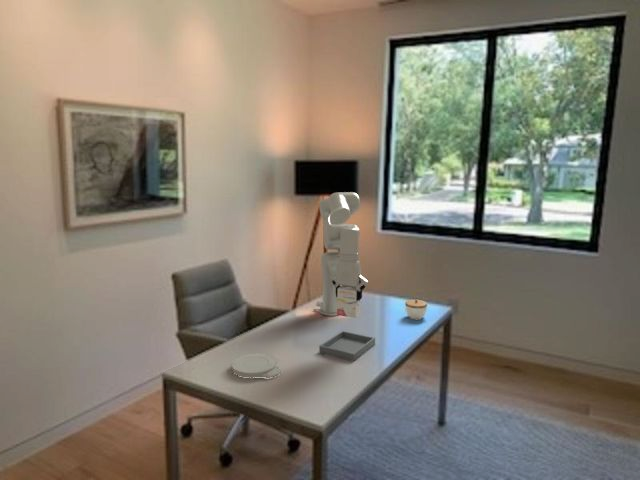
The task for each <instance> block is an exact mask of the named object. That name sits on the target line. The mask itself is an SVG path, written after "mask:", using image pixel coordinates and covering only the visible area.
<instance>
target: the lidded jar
mask: <svg viewBox="0 0 640 480" xmlns="http://www.w3.org/2000/svg"><path fill="white" fill-rule="evenodd" d="M404 303H405V304H404V305H405V306H404V307H405V313H406V314H407V316H408V317H409V319H411V320H414V321H415V320H422V319H423V317H424V316H425V315H426V313H427V307H428V303H427V302H426V300H425V301H424V300H421V299H408V300H406V301H405V302H404Z"/></svg>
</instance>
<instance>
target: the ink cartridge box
mask: <svg viewBox="0 0 640 480" xmlns="http://www.w3.org/2000/svg"><path fill="white" fill-rule="evenodd" d="M357 291H358V290H357V288H356V287H352V286H346V285H341V287H339V288H338V293H337V315H336V316H342V317H346V318H350V319H351V318H353V319H356V318H358V317H359V315H360V314H361V313H360V309H361V308H360V307H361V304H360V303H361V300H359V301H357V300H356V298H357Z"/></svg>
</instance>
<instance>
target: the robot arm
mask: <svg viewBox="0 0 640 480" xmlns="http://www.w3.org/2000/svg"><path fill="white" fill-rule="evenodd" d="M318 203H319V204H318V207H319V212H320V215H321V218H322V221H323V222H322V223H323V245H324V249H326V250H334V251H328V252H324V253H323V254H322V255H321V257H320V264H321V265H320V266H321V272H322V273H321V274H322V276H321V277H322V283H321V284H322V289H321V290H322V291H321V292H322V299H321V300H322V301H316V305H315V306H316V307H319V310H318V312H319V313H320V314H321V315H324V316H327V317H329V316H330V317H332V316H333V317H335V316H338V315H337V293H338V288H339V287H341V286H342V285H346V286H352V287H356V288H357V290H358V291H357V298H356V300H357V301H359V300H360V301H361V300H362V298H363V290H364V289H365V288H367V286H368V284H369V281H368V280H367V279H366V278H365V277H364V276H362V266H361V261H360V260H359V246H360V245H359V243H360V236H361V235H360V228H359V226H357V225H356V224H354V223H352V224H351V223H346V222H347V221H349V220H350V218H351V215H354V214H356V212H357V211H359V209H360V207H361V199H360V196H359V195H358V194H357V193H356V192H353V191H350V192H349V191H348V192H346V191H344V192H337V191H336V192H333V193H332V194H330V195H329V197H324V198H322V199H321V200H320V201H319V202H318ZM336 250H339V251H336ZM362 283H363V284H362Z"/></svg>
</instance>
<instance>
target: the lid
mask: <svg viewBox="0 0 640 480" xmlns="http://www.w3.org/2000/svg"><path fill="white" fill-rule="evenodd" d="M277 364H278V361H277V359H276V358H275V357H274V356H272V355H269V354H266V353H258V352H257V353H248V354H243V355H240V356H238V357H236V358H234V359H233V360H232V361H231V364H230V365H231V369H232V373H233V372H234V373H235V374H237V375H239V376H242V377H249V378H250V377H251V378H253V377H266V378H270V377H275V376H278V375H279V374H280V373H281V374H282V368H281V367H280V366H278V365H277ZM234 373H233V374H234ZM235 374H234V375H235ZM281 374H280V375H281ZM280 375H279V376H280ZM279 376H278V377H279Z"/></svg>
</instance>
